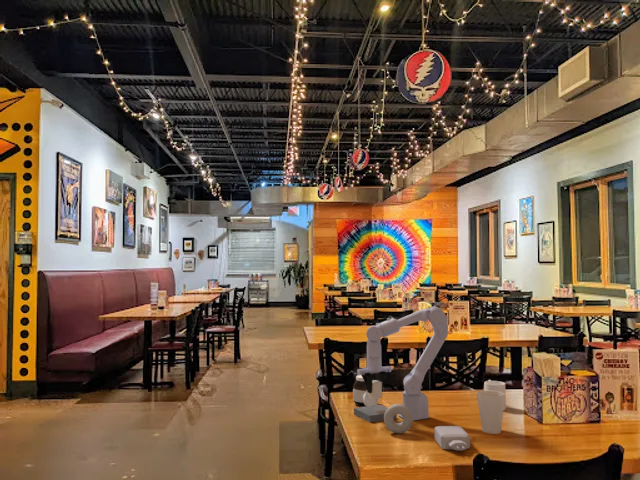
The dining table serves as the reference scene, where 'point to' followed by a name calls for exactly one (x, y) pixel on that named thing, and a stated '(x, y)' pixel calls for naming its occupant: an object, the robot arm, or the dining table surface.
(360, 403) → the spread jar
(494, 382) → the cup
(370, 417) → the tile
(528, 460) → the dining table surface
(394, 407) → the donut
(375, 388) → the block
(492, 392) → the foam cup
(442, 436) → the charger
